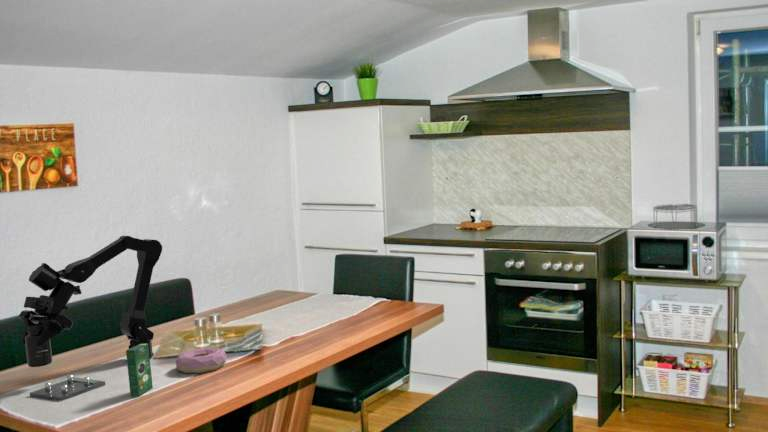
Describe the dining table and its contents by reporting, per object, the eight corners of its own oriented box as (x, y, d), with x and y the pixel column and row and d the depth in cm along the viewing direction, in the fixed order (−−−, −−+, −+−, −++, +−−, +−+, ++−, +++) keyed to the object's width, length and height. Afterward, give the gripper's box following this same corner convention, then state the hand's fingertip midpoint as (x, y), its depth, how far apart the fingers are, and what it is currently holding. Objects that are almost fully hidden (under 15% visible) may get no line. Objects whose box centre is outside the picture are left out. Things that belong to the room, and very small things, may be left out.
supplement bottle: (43, 367, 233) (38, 327, 232) (22, 368, 234) (17, 328, 233) (57, 360, 239) (52, 321, 238) (37, 361, 241) (32, 322, 240)
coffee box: (144, 387, 227) (139, 342, 226) (153, 387, 226) (148, 342, 225) (129, 397, 219) (124, 350, 218) (139, 396, 218) (134, 350, 217)
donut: (166, 372, 243) (164, 356, 242) (206, 359, 254) (204, 343, 254) (197, 378, 233) (195, 361, 232) (238, 364, 244) (236, 348, 244)
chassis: (74, 380, 240) (73, 371, 240) (105, 384, 233) (104, 374, 233) (29, 396, 228) (28, 385, 228) (61, 401, 220) (59, 390, 220)
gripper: (20, 284, 242) (-10, 329, 234) (58, 285, 232) (29, 332, 224) (46, 303, 249) (19, 347, 241) (85, 306, 239) (57, 352, 231)
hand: (30, 344), depth 234 cm, fingers closed on supplement bottle, 6 cm apart
